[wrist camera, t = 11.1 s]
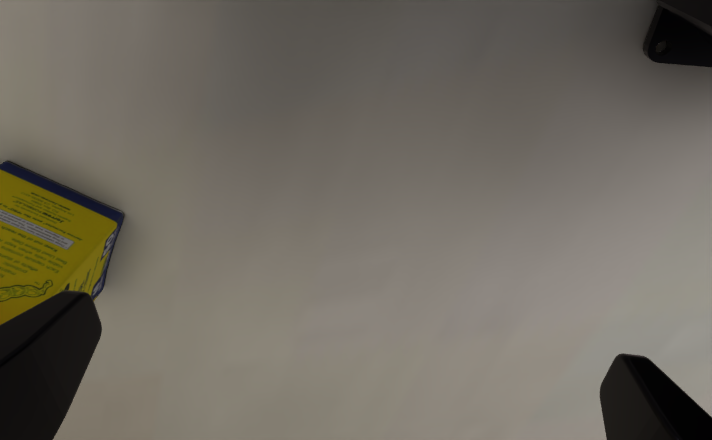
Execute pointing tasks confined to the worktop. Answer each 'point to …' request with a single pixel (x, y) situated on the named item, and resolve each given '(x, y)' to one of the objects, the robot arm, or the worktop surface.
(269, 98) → the worktop surface
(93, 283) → the supplement box
